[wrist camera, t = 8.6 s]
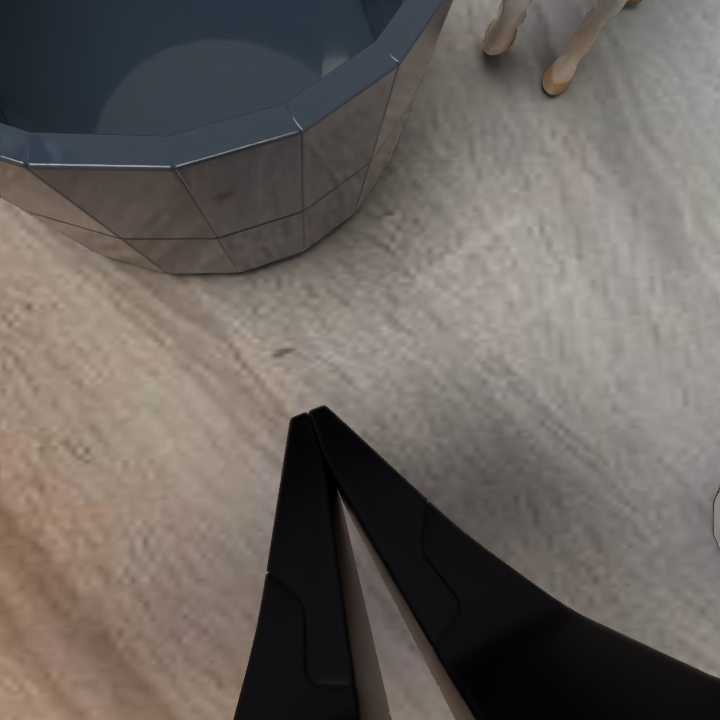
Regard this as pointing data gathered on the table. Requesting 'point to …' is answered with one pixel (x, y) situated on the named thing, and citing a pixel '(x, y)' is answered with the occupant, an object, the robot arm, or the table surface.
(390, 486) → the robot arm
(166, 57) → the bowl
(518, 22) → the unicorn figurine
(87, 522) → the table surface
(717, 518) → the foam cup
